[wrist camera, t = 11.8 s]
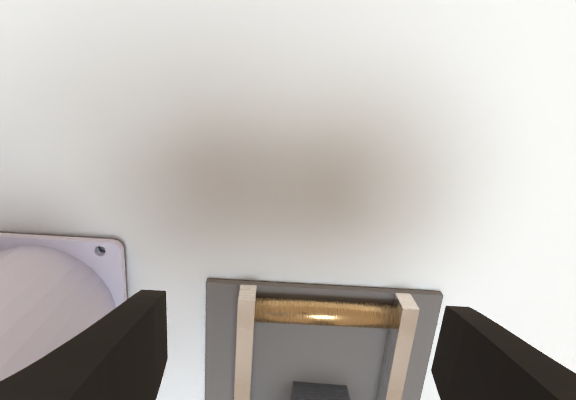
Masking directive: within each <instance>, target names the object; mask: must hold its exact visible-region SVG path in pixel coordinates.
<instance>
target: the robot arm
mask: <svg viewBox="0 0 576 400" xmlns="http://www.w3.org/2000/svg"><path fill="white" fill-rule="evenodd" d="M98 246H101V247H103V248H104V249H105V251H106V252H105V253H103V252H101V251H99V249H98ZM166 362H167V316H166V291H154V290H141V291H139V292H137V293H136V294H134V295H133V296H132V297H130V298H129V299H127V291H126V274H125V257H124V247H123V245H122V244H121V242H119V241H118V240H114V239H101V238H84V237H67V236H50V235H32V234H15V233H0V400H156V397H157V394H158V391H159V387H160V384H161V380H162V377H163V373H164V369H165V366H166ZM431 371H432V374H433V378H434V381H435V384H436V387H437V390H438V393H439V396H440V399H441V400H576V373H574V372H572V371H571V370H569V369H567V368H566V367H564V366H563V365H561V364H559V363H558V362H556V361H554V360H553V359H551V358H550V357H548V356H547V355H545V354H543V353H542V352H540V351H539V350H537V349H536V348H534V347H532V346H531V345H529V344H528V343H526V342H525V341H523V340H522V339H520V338H519V337H517V336H515V335H514V334H512V333H511V332H509V331H508V330H506V329H505V328H503V327H502V326H500V325H499V324H497V323H495V322H494V321H492V320H491V319H489V318H487V317H486V316H484V315H482V314H481V313H479V312H477V311H476V310H474V309H472V308H470V307H458V306H446V308H445V312H444V316H443V321H442V325H441V330H440V334H439V338H438V343H437V347H436V352H435V356H434V361H433V365H432V369H431Z"/></svg>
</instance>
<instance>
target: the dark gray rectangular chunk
mask: <svg viewBox="0 0 576 400" xmlns="http://www.w3.org/2000/svg"><path fill="white" fill-rule="evenodd" d="M290 400H350V397H349V393H348V388H347V386H346V385H334V384H323V383H311V382H300V381H293V384H292V391H291V397H290Z"/></svg>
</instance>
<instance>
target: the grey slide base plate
mask: <svg viewBox="0 0 576 400" xmlns="http://www.w3.org/2000/svg"><path fill="white" fill-rule="evenodd" d="M240 285H257V289H256V297H265V298H284V299H303V300H322V301H341V302H360V303H379V304H393V301H394V295H395V293H407V294H411V296H412V297H413V299H414V301H415V302H416V304H417V306H418V308H419V309H420V310H419V315H418V320H417V325H416V330H415V334H414V339H413V344H412V349H411V354H410V359H409V364H408V369H407V374H406V379H405V383H404V388H403V393H402V398H401V400H420V398H421V393H422V389H423V384H424V380H425V375H426V371H427V366H428V362H429V357H430V353H431V348H432V344H433V339H434V335H435V330H436V326H437V321H438V317H439V312H440V308H441V303H442V299H443V294H442V293H441V292H440V291H426V290H408V289H389V288H371V287H352V286H334V285H315V284H297V283H279V282H260V281H242V280H223V279H207V282H206V353H205V400H234V385H235V360H236V336H237V311H238V297H239V291H240ZM387 334H388V329H380V328H359V327H339V326H319V325H299V324H279V323H259V322H255V325H254V342H253V360H252V378H251V396H250V400H290V397H291V391H292V384H293V381H300V382H311V383H323V384H334V385H346V386H347V388H348V393H349V397H350V400H376V396H377V390H378V384H379V379H380V373H381V368H382V362H383V356H384V351H385V345H386V340H387Z"/></svg>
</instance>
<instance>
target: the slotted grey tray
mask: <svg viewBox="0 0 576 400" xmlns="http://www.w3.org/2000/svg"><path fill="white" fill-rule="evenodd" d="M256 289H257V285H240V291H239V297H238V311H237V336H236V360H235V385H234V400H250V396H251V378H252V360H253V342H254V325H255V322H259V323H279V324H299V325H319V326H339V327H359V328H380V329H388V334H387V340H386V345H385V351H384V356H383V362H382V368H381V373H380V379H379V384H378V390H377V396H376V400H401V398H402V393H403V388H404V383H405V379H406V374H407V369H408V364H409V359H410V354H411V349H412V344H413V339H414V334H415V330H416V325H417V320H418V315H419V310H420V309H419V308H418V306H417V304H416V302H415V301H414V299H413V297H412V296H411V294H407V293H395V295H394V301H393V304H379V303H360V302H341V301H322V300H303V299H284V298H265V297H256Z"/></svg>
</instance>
